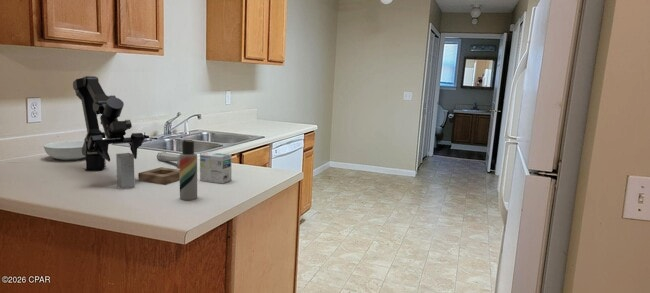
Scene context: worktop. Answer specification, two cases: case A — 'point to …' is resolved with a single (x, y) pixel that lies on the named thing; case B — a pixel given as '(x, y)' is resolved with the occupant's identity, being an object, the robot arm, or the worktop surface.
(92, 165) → the robot arm
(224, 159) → the light bulb box
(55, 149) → the serving bowl
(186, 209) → the worktop surface
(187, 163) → the lotion bottle
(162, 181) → the wooden square hole board
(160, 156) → the grey metal cylinder
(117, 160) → the steel peg
